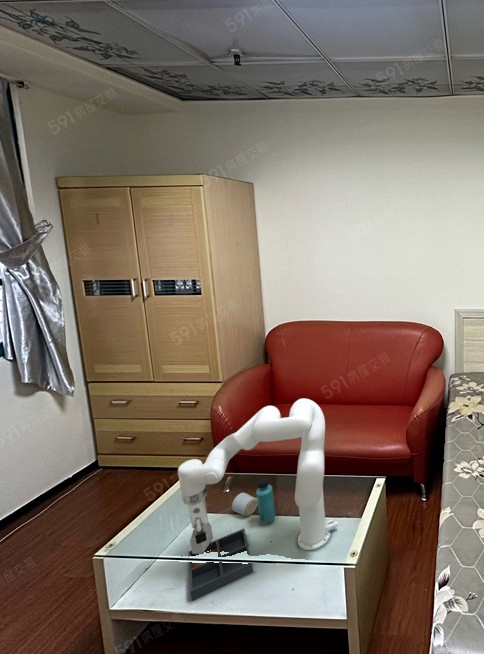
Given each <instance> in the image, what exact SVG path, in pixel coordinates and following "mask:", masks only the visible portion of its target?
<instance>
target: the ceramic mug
mask: <svg viewBox="0 0 484 654" xmlns="http://www.w3.org/2000/svg"><path fill="white" fill-rule="evenodd" d="M257 503H258V501H257V497H254V496H252V495H250V494H248V493H246V492H240V493H239V494H237V496H235V497H234V499H233V501H232V503H231V509H232V511H233V512H235V513H237V514H239V515H241V516H245V517H249V516H251V515H253V514H254V513H255V512H256V510H257V509H258V504H257Z"/></svg>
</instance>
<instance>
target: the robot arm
mask: <svg viewBox="0 0 484 654" xmlns="http://www.w3.org/2000/svg"><path fill="white" fill-rule="evenodd" d="M325 436H326V419H325V415H324V413H323V410H322V408H321V407H320V406H319V405H318V404H317V403H316V402H315V401H313V400H311V399H309V398H299V399H297V400H296V401H294V403H293V404H292V406H291V407H290V409H289V414H288V417H282V416H281V412H280V410H279V408H278V407H276V406H274V405H266V406H264V407H262V408H261V409H260V410H258V411H257V412H256V413H255V414H254V415H253V416H252V417H251V418H250V419H249V420H248V421H246V423H244V424H243V425H242V426H241V427H240V428H239V429H238V430H237V431H236V432H234V433H231V434H229V435H228V436H226V437H225V438H223V440H222V441H220V442H219V443H218V444H217V445H216V446H215V447H214V448H213V449H212V450H210V452H209V454H208V455H207V457H206V460H205V462H204V463H203V462H202V461H201V460H200V459H197V458H191V459H188V460H186V461H184V462H183V463H182V464H180V465H179V467H178V469H177V475H178V481H179V482H178V483H179V489H180V494H181V501H182V503H183V504H184V505H187V510H188V515H189V519H190V524H191V528H192V529H193V530H194V529H195V533H196V534H195V538H196V544H199V543H202V542H204V541H206V540H207V538H206V532H205V531H204V525H205V524H207V523H208V522H209V519H208V511H207V503H206V496H207V495H208V491H207V486H206V485H214V484H218V483H219V482H221V480H222V479H223V478H224V475H225V473H226V471H227V467H228V464H229V462H230V460H231V459H233V457H234V456H235V455H237V453H239V452H240V451H241V450H244V451H250V450H252V449H254V448H255V447H256V446H257V445H258V444H259V443H260V442H261V443H270V442H271V443H272V442H279V441H280V442H281V441H287V440H293V439H299V438H301V445H300V451H299V455H298V459H297V471H296V480H295V492H294V502H295V505H296V506H297V507H298V513H299V523H300V533H299V535H298V538H297V543H298V546H299V548H300V549H302V550H305V551H314V550H318V549H320V548H322V547H323V546H324V545H326V544H327V543H328V542H329V540H330V538H331V530H332V529H333V528H336V527H339V523H338V520H336V521H334V520H333V518H332V519H328V520H326V509H325V500H324V499H325V497H324V478H325V440H326V437H325ZM200 522H202V524H201V523H200ZM201 526H202V529H201ZM305 548H307V549H305Z"/></svg>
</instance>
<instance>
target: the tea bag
mask: <svg viewBox="0 0 484 654" xmlns="http://www.w3.org/2000/svg"><path fill="white" fill-rule="evenodd" d="M200 523H201V524H202V522H200ZM201 529H202V526H201ZM204 531H205V532H206V538H207V540H206V541H204V542H202V543H199V544H196V538H195V534H196V533H195V529H193V530H192V534H191V537H190V540H189V544H190V548H191V550H192V554H203V552H204V551H205V549H206V548H207V546H208V545H209V544H210V542H212V541H213V539H214V535H213V529H212V525H211V523H210V522H209V521H208V523H207V524H205V525H204Z"/></svg>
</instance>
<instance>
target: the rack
mask: <svg viewBox="0 0 484 654" xmlns="http://www.w3.org/2000/svg"><path fill="white" fill-rule="evenodd" d="M210 550H211V551H210ZM207 551H209V552H207ZM222 551H224V552H229V553H227V554H224V555H222V556H221V554H220V552H222ZM244 551H247V554H248V555H250V556H251V552H250V548H249V543H248V539H247V534H246V529H245V528H241V529H239V530H237V531H234V532H231V533H230V534H229V533H228V534H227V535H224V536H221V537H220V538H217V539H215V540H212V541H211V542H210V544H209V545H208V546H207V548H206V549H205V551H204V552H206V553H210V552H218V557H226V556H232V555H235V554H237V553H241V552H244ZM204 552H203V553H204ZM187 555H188V556H196V555H199V554H192V549H191V550H189V551H188V552H187ZM253 567H254V566H253V562H252V563H248V564H242V563H222V562H219V563H214V562H206V563H192V562H189V561H188V575H189V593H190V598H191V602H195V601H196V600H198V599H200V598H202V597H204V596H206V595H208V594H210V593H211V594H212V593H213V592H214V591H217V590H219V589H221V588H223V587H226V586H228V585H229V584H231V583H234V582H236V581H238V580H240V579H242V578H245V577H246V576H249V575H251V574H253V573H254V568H253Z"/></svg>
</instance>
